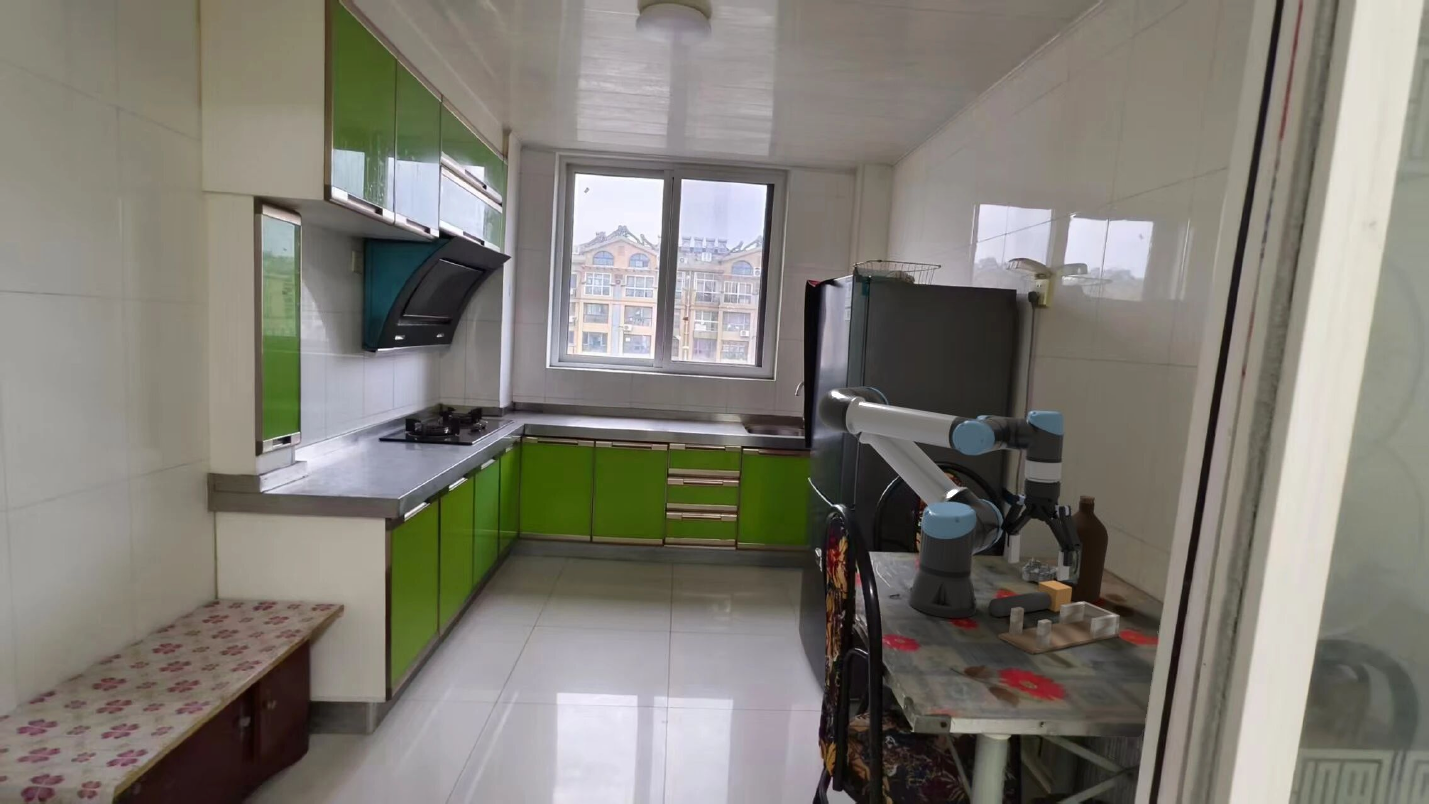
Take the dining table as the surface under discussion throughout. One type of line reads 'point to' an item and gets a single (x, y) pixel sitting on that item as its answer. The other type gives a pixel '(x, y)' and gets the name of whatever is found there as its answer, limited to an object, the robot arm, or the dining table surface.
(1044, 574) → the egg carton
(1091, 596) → the olive oil
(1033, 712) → the dining table surface
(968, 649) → the dining table surface
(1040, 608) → the grey handled block hammer
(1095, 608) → the wooden stand
